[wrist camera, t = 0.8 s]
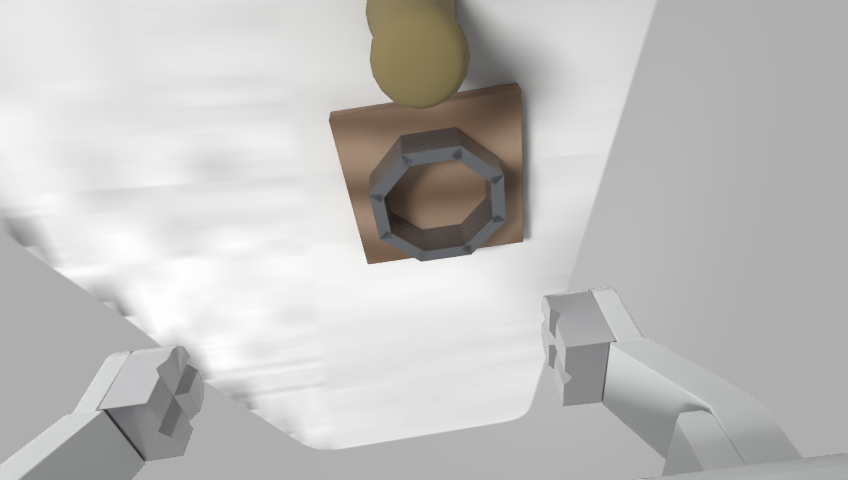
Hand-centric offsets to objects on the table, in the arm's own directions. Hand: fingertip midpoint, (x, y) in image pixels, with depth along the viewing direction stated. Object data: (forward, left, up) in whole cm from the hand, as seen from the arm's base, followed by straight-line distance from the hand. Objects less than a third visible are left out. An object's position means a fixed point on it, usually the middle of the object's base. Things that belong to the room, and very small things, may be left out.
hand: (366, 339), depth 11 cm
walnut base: (+13, +2, -28) cm, 31 cm away
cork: (0, +2, -28) cm, 28 cm away
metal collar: (+13, +2, -27) cm, 30 cm away
